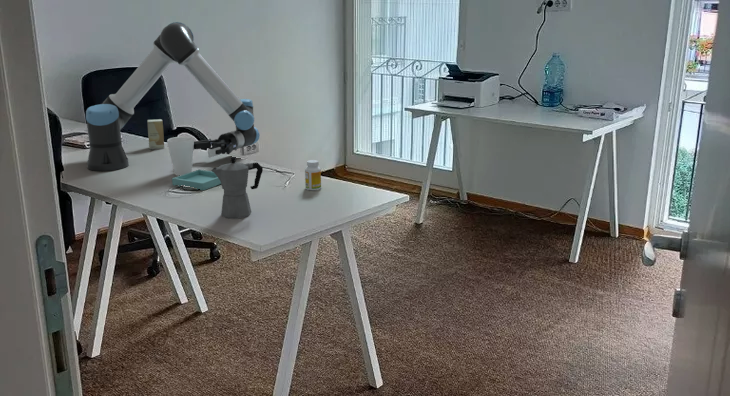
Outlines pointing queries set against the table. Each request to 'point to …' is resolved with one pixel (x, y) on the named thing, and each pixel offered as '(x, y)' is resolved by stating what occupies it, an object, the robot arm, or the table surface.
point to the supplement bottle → (313, 175)
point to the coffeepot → (236, 187)
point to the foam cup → (181, 154)
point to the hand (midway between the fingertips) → (194, 152)
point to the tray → (197, 179)
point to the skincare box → (155, 134)
